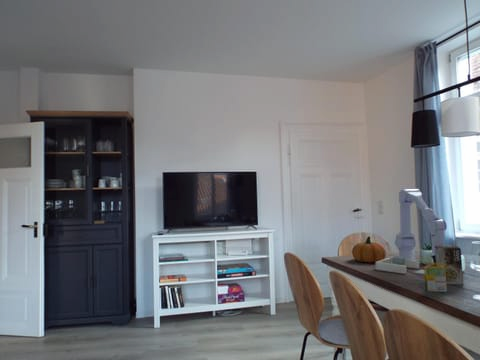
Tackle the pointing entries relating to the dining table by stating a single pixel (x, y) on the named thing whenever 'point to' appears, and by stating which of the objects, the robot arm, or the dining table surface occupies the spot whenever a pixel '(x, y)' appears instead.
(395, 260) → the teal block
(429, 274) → the crayon box
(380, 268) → the open side box
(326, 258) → the dining table surface
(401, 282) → the dining table surface
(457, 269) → the coffee box
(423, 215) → the robot arm
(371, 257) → the pumpkin
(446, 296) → the dining table surface
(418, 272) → the grey pad
